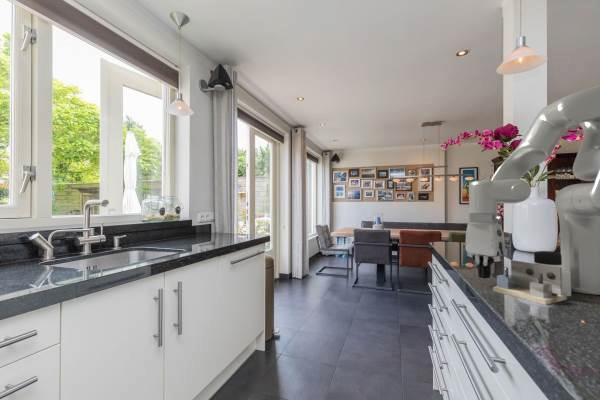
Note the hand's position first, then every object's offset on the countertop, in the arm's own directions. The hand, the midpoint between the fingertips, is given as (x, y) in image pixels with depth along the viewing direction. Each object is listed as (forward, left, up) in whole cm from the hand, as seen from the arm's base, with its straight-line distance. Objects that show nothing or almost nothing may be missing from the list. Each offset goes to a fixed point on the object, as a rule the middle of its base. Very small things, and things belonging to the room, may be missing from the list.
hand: (484, 277), depth 88 cm
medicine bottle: (-11, +12, -3) cm, 16 cm away
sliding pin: (0, +7, -1) cm, 7 cm away
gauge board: (-2, +11, -3) cm, 11 cm away
